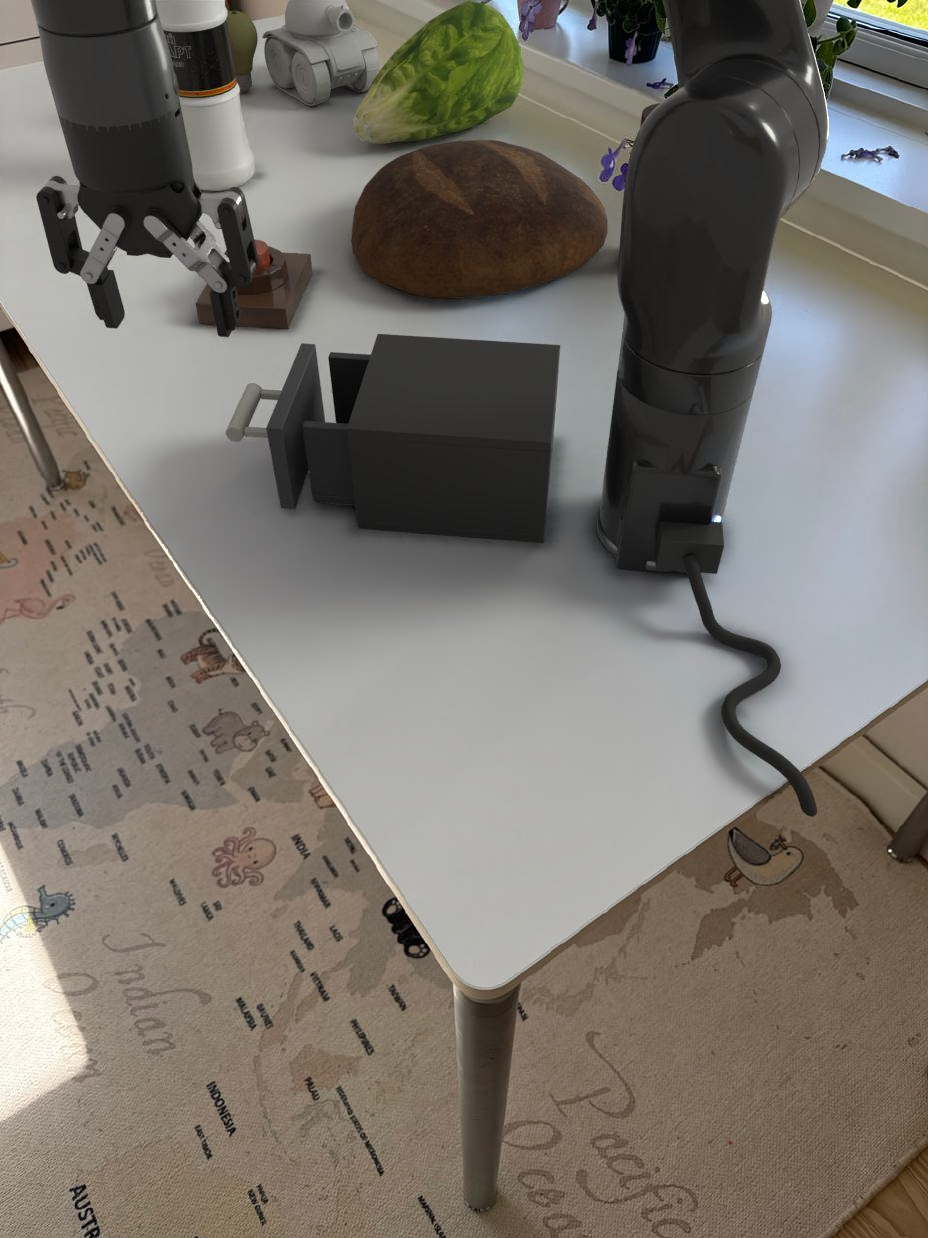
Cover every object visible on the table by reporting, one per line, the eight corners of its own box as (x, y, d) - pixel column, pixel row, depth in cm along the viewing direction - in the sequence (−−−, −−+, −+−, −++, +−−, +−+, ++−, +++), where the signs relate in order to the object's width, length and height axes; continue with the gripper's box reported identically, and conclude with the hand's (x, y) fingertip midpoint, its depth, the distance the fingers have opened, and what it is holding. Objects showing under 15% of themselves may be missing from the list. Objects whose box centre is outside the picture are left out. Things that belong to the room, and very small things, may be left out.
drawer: (227, 504, 79) (208, 423, 74) (263, 418, 87) (248, 339, 81) (450, 522, 78) (449, 440, 72) (467, 432, 86) (467, 352, 80)
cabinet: (357, 528, 79) (346, 428, 72) (384, 431, 87) (377, 333, 80) (543, 543, 78) (551, 442, 70) (553, 443, 86) (560, 344, 79)
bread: (534, 169, 123) (537, 93, 116) (655, 270, 106) (667, 188, 99) (312, 216, 114) (303, 137, 108) (406, 334, 98) (402, 248, 91)
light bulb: (273, 91, 140) (262, 11, 133) (239, 102, 137) (227, 20, 130) (249, 81, 143) (238, 1, 135) (216, 91, 140) (202, 10, 133)
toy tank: (386, 96, 139) (380, -11, 129) (321, 115, 134) (310, 6, 125) (328, 65, 147) (318, -38, 137) (265, 82, 142) (250, -23, 133)
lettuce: (345, 170, 133) (308, 66, 123) (481, 90, 139) (456, -15, 129) (403, 194, 124) (369, 83, 114) (546, 107, 129) (525, -5, 120)
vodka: (264, 186, 120) (218, -120, 98) (186, 199, 118) (121, -112, 96) (248, 156, 126) (201, -140, 104) (173, 167, 124) (109, -133, 101)
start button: (265, 274, 98) (262, 257, 97) (229, 272, 99) (226, 255, 97) (274, 256, 101) (272, 239, 100) (239, 254, 101) (236, 237, 100)
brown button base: (288, 329, 98) (282, 291, 95) (199, 323, 99) (191, 286, 96) (313, 273, 106) (308, 236, 103) (229, 268, 107) (223, 232, 104)
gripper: (-18, 114, 61) (60, 348, 73) (210, 127, 60) (251, 362, 72) (32, 69, 66) (98, 294, 78) (244, 80, 65) (277, 307, 77)
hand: (171, 327), depth 75 cm, fingers open, 8 cm apart
